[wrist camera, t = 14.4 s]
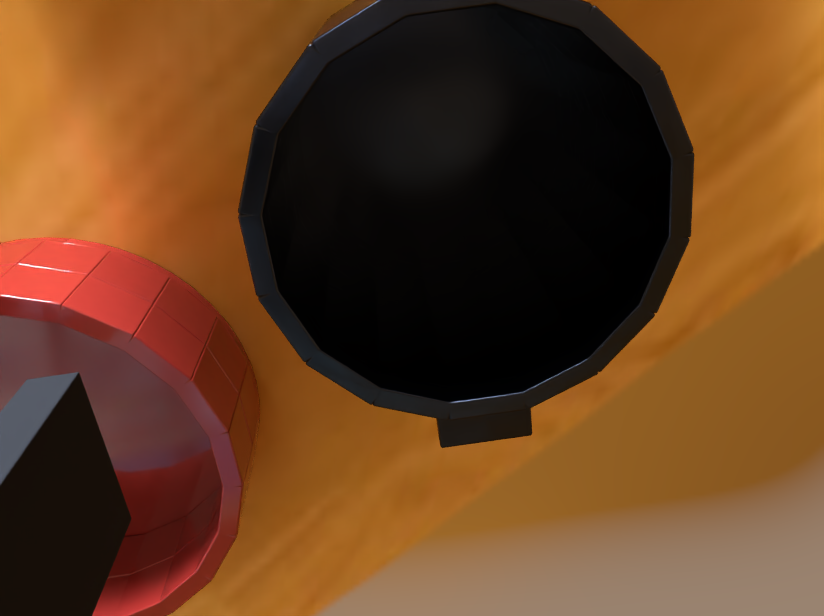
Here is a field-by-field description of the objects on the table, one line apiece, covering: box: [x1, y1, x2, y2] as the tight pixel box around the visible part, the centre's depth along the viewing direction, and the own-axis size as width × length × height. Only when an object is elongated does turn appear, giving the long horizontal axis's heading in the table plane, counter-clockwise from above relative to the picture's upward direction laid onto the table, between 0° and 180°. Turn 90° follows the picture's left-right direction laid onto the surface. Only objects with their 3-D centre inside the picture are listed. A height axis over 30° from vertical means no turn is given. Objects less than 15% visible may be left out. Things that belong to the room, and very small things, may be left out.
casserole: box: [0, 238, 260, 616], centre depth 30 cm, size 16×16×6 cm
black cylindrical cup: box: [238, 0, 694, 448], centre depth 23 cm, size 11×14×12 cm
